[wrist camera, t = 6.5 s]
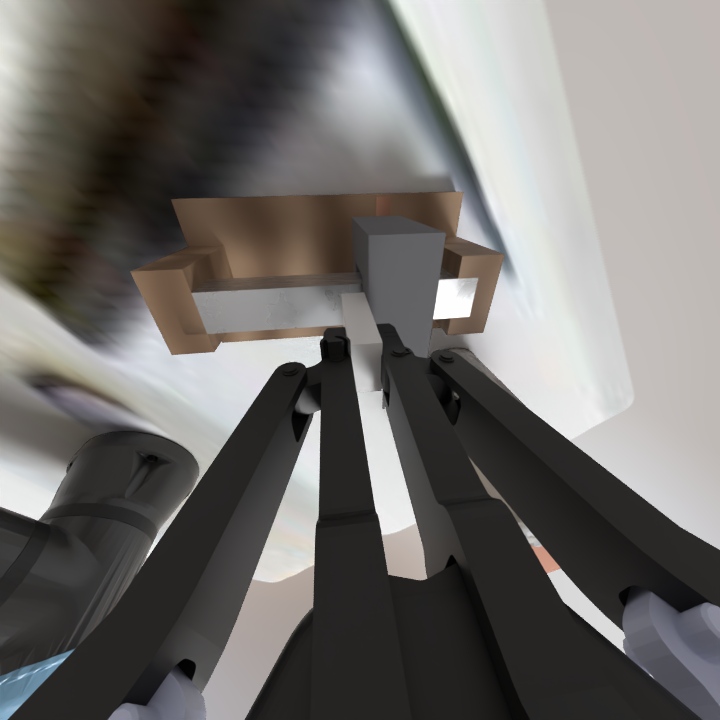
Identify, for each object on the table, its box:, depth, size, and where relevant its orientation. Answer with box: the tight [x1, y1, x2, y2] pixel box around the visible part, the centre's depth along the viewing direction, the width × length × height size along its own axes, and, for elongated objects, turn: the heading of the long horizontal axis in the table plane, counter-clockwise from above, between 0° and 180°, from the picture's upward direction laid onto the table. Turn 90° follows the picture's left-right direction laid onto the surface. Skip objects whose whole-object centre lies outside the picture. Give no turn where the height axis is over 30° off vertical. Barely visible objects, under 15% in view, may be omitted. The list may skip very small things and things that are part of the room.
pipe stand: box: [131, 192, 505, 355], centre depth 22 cm, size 24×13×10 cm, turn 91°
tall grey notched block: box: [352, 215, 446, 389], centre depth 20 cm, size 4×10×10 cm, turn 1°
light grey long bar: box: [177, 268, 478, 335], centre depth 20 cm, size 21×4×4 cm, turn 91°
